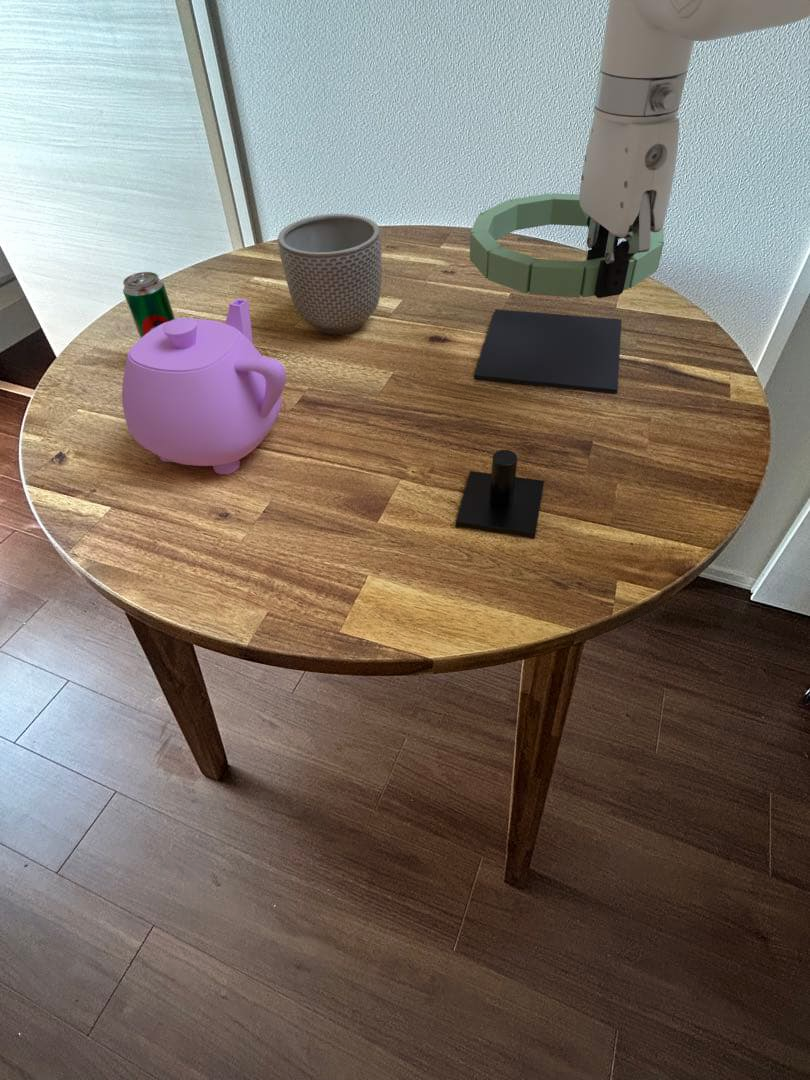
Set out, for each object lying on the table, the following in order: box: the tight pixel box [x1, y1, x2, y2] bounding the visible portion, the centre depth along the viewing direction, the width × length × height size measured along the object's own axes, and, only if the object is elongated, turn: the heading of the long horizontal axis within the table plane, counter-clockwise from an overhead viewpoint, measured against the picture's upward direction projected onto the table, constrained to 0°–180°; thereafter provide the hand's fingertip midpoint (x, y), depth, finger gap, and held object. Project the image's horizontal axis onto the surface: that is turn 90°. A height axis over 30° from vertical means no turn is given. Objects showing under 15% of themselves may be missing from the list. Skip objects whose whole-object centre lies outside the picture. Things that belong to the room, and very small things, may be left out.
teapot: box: [121, 297, 287, 475], centre depth 73 cm, size 20×20×15 cm
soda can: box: [122, 271, 176, 340], centre depth 86 cm, size 5×5×12 cm
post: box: [455, 449, 545, 539], centre depth 65 cm, size 8×8×6 cm
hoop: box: [469, 192, 665, 299], centre depth 78 cm, size 22×22×3 cm
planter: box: [277, 213, 383, 335], centre depth 91 cm, size 14×14×13 cm
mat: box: [473, 308, 622, 394], centre depth 88 cm, size 18×18×1 cm
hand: (602, 288), depth 72 cm, fingers closed on hoop, 2 cm apart
